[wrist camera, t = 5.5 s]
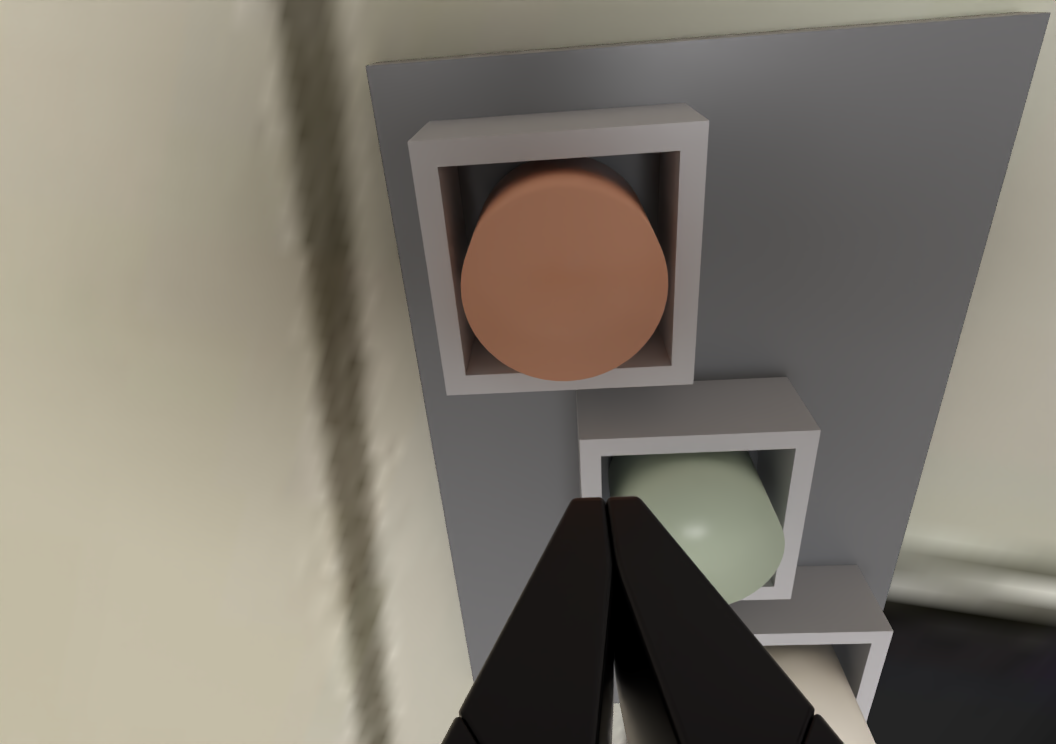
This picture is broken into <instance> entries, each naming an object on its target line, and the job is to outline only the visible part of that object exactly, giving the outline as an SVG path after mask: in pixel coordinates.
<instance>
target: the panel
mask: <svg viewBox="0 0 1056 744" xmlns="http://www.w3.org/2000/svg"><path fill="white" fill-rule="evenodd" d="M1049 17H1050V13H1046V12H1015V13H1002V14H989V15H977V16H964V17H951V18H938V19H925V20H913V21H900V22H887V23H874V24H861V25H848V26H836V27H823V28H810V29H797V30H784V31H772V32H759V33H746V34H733V35H720V36H707V37H695V38H682V39H669V40H656V41H643V42H631V43H618V44H605V45H592V46H579V47H567V48H554V49H541V50H528V51H515V52H502V53H490V54H477V55H464V56H451V57H438V58H426V59H413V60H400V61H387V62H376V63H373V64H370V65H367V66H366V71H367V77H368V83H369V88H370V94H371V100H372V105H373V111H374V117H375V123H376V128H377V134H378V140H379V145H380V151H381V157H382V162H383V168H384V174H385V180H386V185H387V191H388V197H389V202H390V208H391V214H392V220H393V225H394V231H395V237H396V242H397V248H398V254H399V259H400V265H401V271H402V277H403V282H404V288H405V294H406V299H407V305H408V311H409V316H410V322H411V328H412V334H413V339H414V345H415V351H416V356H417V362H418V368H419V373H420V379H421V385H422V391H423V396H424V402H425V408H426V413H427V419H428V425H429V430H430V436H431V442H432V448H433V453H434V459H435V465H436V470H437V476H438V482H439V487H440V493H441V499H442V505H443V510H444V516H445V522H446V527H447V533H448V539H449V544H450V550H451V556H452V562H453V567H454V573H455V579H456V584H457V590H458V596H459V601H460V607H461V613H462V619H463V624H464V630H465V636H466V641H467V647H468V653H469V658H470V664H471V670H472V676H473V681H474V682H475V680H476V678H477V676H478V674H479V672H480V671H481V669H482V667H483V665H484V663H485V661H486V659H487V657H488V656H489V654H490V652H491V650H492V648H493V646H494V644H495V642H496V640H497V639H498V637H499V635H500V633H501V631H502V629H503V627H504V625H505V623H506V622H507V620H508V618H509V616H510V614H511V612H512V610H513V608H514V606H515V605H516V603H517V601H518V599H519V597H520V595H521V593H522V591H523V590H524V588H525V586H526V584H527V582H528V580H529V578H530V576H531V574H532V573H533V571H534V569H535V567H536V565H537V563H538V561H539V559H540V557H541V556H542V554H543V552H544V550H545V548H546V546H547V544H548V542H549V541H550V539H551V537H552V535H553V533H554V531H555V529H556V527H557V525H558V524H559V522H560V520H561V518H562V516H563V514H564V512H565V510H566V508H567V507H568V505H569V503H570V501H571V500H572V499H574V498H584V497H601V498H603V499H604V500H605V503H606V500H607V499H608V498H609V497H610V491H609V482H608V472H609V467H610V463H611V461H612V458H613V456H619V455H645V454H670V453H696V452H721V451H747V450H748V452H749V454H750V457H751V459H752V461H753V463H754V466H755V468H756V470H757V472H758V475H759V477H760V479H761V481H762V484H763V486H764V488H765V490H766V493H767V495H768V497H769V499H770V502H771V504H772V506H773V509H774V511H775V513H776V515H777V518H778V520H779V522H780V524H781V527H782V530H783V533H784V539H785V548H784V554H783V558H782V560H781V563H780V565H779V567H778V568H777V570H776V572H775V573H774V575H773V576H772V577H771V578H770V579H769V580H768V581H767V582H766V583H765V584H764V585H763V586H762V587H761V588H759V589H758V590H757V591H755V592H754V593H752V594H751V595H749V596H747V597H745V598H743V599H741V600H739V601H737V602H734V603H731V604H729V605H730V607H731V608H732V609H733V610H734V611H735V613H736V614H737V615H738V616H739V618H740V619H741V620H742V621H743V622H744V624H745V625H746V626H747V627H748V628H749V630H750V631H751V632H752V633H753V634H754V636H755V637H756V638H757V639H758V640H759V642H760V643H761V644H762V645H763V646H772V645H820V644H831V645H832V647H833V649H834V651H835V653H836V655H837V657H838V660H839V662H840V664H841V667H842V669H843V671H844V673H845V676H846V678H847V680H848V682H849V685H850V687H851V689H852V692H853V694H854V696H855V698H856V701H857V703H858V705H859V707H860V710H861V712H862V714H863V717H864V719H865V721H867V718H868V715H869V711H870V708H871V704H872V701H873V698H874V694H875V691H876V688H877V684H878V681H879V678H880V674H881V671H882V667H883V664H884V661H885V657H886V654H887V651H888V647H889V644H890V641H891V637H892V634H893V630H892V628H891V626H890V624H889V622H888V621H887V619H886V617H885V615H884V613H883V609H884V606H885V602H886V599H887V595H888V591H889V588H890V584H891V581H892V577H893V574H894V570H895V566H896V563H897V559H898V556H899V552H900V549H901V545H902V541H903V538H904V534H905V531H906V527H907V524H908V520H909V516H910V513H911V509H912V506H913V502H914V499H915V495H916V491H917V488H918V484H919V481H920V477H921V474H922V470H923V466H924V463H925V459H926V456H927V452H928V449H929V445H930V441H931V438H932V434H933V431H934V427H935V424H936V420H937V416H938V413H939V409H940V406H941V402H942V399H943V395H944V391H945V388H946V384H947V381H948V377H949V374H950V370H951V367H952V363H953V359H954V356H955V352H956V349H957V345H958V342H959V338H960V334H961V331H962V327H963V324H964V320H965V317H966V313H967V309H968V306H969V302H970V299H971V295H972V292H973V288H974V284H975V281H976V277H977V274H978V270H979V267H980V263H981V259H982V256H983V252H984V249H985V245H986V242H987V238H988V234H989V231H990V227H991V224H992V220H993V217H994V213H995V209H996V206H997V202H998V199H999V195H1000V192H1001V188H1002V184H1003V181H1004V177H1005V174H1006V170H1007V167H1008V163H1009V159H1010V156H1011V152H1012V149H1013V145H1014V142H1015V138H1016V134H1017V131H1018V127H1019V124H1020V120H1021V117H1022V113H1023V109H1024V106H1025V102H1026V99H1027V95H1028V92H1029V88H1030V84H1031V81H1032V77H1033V74H1034V70H1035V67H1036V63H1037V59H1038V56H1039V52H1040V49H1041V45H1042V42H1043V38H1044V35H1045V31H1046V27H1047V24H1048V20H1049ZM580 157H587V158H591V159H594V160H596V161H598V162H601V163H603V164H605V165H606V166H608V167H610V168H611V169H613V170H614V171H616V172H617V173H618V174H619V175H620V176H622V177H623V178H624V179H625V180H626V182H627V183H628V184H629V185H630V186H631V187H632V189H633V190H634V192H635V193H636V195H637V197H638V199H639V201H640V203H641V205H642V207H643V209H644V211H645V213H646V215H647V218H648V220H649V222H650V224H651V226H652V229H653V231H654V233H655V235H656V237H657V239H658V242H659V244H660V246H661V248H662V251H663V254H664V257H665V260H666V266H667V271H668V294H667V301H666V305H665V309H664V312H663V315H662V317H661V320H660V322H659V324H658V326H657V328H656V329H655V331H654V333H653V335H652V336H651V337H650V339H649V340H648V341H647V343H646V344H645V345H644V346H643V347H642V348H641V349H640V350H639V351H638V352H637V353H636V354H635V355H634V356H632V357H631V358H630V359H629V360H627V361H626V362H624V363H623V364H621V365H620V366H618V367H617V368H614V369H612V370H610V371H608V372H606V373H604V374H601V375H598V376H595V377H591V378H587V379H582V380H575V381H551V380H543V379H539V378H535V377H531V376H528V375H525V374H523V373H520V372H518V371H516V370H514V369H512V368H510V367H508V366H507V365H505V364H504V363H502V362H501V361H499V360H498V359H497V358H495V357H494V356H493V355H492V354H491V353H490V352H489V351H488V350H487V349H486V348H485V347H484V346H483V345H482V344H481V342H480V341H479V340H478V338H477V337H476V335H475V334H474V332H473V330H472V328H471V326H470V324H469V322H468V320H467V317H466V314H465V312H464V308H463V303H462V298H461V274H462V268H463V264H464V259H465V257H466V254H467V251H468V248H469V245H470V242H471V239H472V236H473V233H474V230H475V227H476V224H477V221H478V218H479V215H480V213H481V210H482V207H483V205H484V203H485V201H486V199H487V197H488V195H489V194H490V193H491V191H492V190H493V188H494V187H495V186H496V185H497V184H498V183H499V181H500V180H501V179H502V178H503V177H504V176H506V175H507V174H508V173H509V172H511V171H512V170H513V169H515V168H517V167H518V166H520V165H522V164H524V163H526V162H528V161H535V160H550V159H565V158H580ZM614 703H620V702H619V696H618V690H617V684H616V677H615V667H614Z"/></svg>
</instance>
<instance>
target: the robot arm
mask: <svg viewBox="0 0 1056 744" xmlns="http://www.w3.org/2000/svg"><path fill="white" fill-rule="evenodd" d="M614 667H615V677H616V684H617V690H618V696H619V702H620V707H621V712H622V717H623V722H624V727H625V732H626V737H627V743H628V744H844V743H843V741H842V740H841V739H840V738H839V737H838V735H837V734H836V733H835V732H834V730H833V729H832V728H831V727H830V726H829V724H828V723H827V722H826V721H825V719H824V718H823V717H822V716H821V715H819V714H815V715H814V712H815V709H814V707H813V705H812V704H811V703H810V702H809V701H808V699H807V698H806V697H805V696H804V695H803V693H802V692H801V691H800V690H799V689H798V687H797V686H796V685H795V684H794V683H793V681H792V680H791V679H790V678H789V677H788V675H787V674H786V673H785V672H784V671H783V669H782V668H781V667H780V666H779V665H778V663H777V662H776V661H775V660H774V658H773V657H772V656H771V655H770V654H769V652H768V651H767V650H766V649H765V648H764V646H763V645H762V644H761V643H760V642H759V640H758V639H757V638H756V637H755V636H754V634H753V633H752V632H751V631H750V630H749V628H748V627H747V626H746V625H745V624H744V622H743V621H742V620H741V619H740V618H739V616H738V615H737V614H736V613H735V611H734V610H733V609H732V608H731V607H730V605H729V604H728V603H727V602H726V601H725V599H724V598H723V597H722V596H721V595H720V593H719V592H718V591H717V590H716V589H715V587H714V586H713V585H712V584H711V583H710V581H709V580H708V579H707V578H706V577H705V575H704V574H703V573H702V572H701V571H700V569H699V568H698V567H697V566H696V565H695V563H694V562H693V561H692V560H691V558H690V557H689V556H688V555H687V554H686V552H685V551H684V550H683V549H682V548H681V546H680V545H679V544H678V543H677V542H676V540H675V539H674V538H673V537H672V536H671V534H670V533H669V532H668V531H667V530H666V528H665V527H664V526H663V525H662V524H661V522H660V521H659V520H658V519H657V518H656V516H655V515H654V514H653V513H652V511H651V510H650V509H649V508H648V507H647V505H646V504H645V503H644V502H643V501H642V500H641V499H640V498H639V497H637V496H618V497H609V498H608V499H607V500H606V503H605V500H604V499H603V498H601V497H584V498H574V499H572V500H571V501H570V503H569V505H568V507H567V508H566V510H565V512H564V514H563V516H562V518H561V520H560V522H559V524H558V525H557V527H556V529H555V531H554V533H553V535H552V537H551V539H550V541H549V542H548V544H547V546H546V548H545V550H544V552H543V554H542V556H541V557H540V559H539V561H538V563H537V565H536V567H535V569H534V571H533V573H532V574H531V576H530V578H529V580H528V582H527V584H526V586H525V588H524V590H523V591H522V593H521V595H520V597H519V599H518V601H517V603H516V605H515V606H514V608H513V610H512V612H511V614H510V616H509V618H508V620H507V622H506V623H505V625H504V627H503V629H502V631H501V633H500V635H499V637H498V639H497V640H496V642H495V644H494V646H493V648H492V650H491V652H490V654H489V656H488V657H487V659H486V661H485V663H484V665H483V667H482V669H481V671H480V672H479V674H478V676H477V678H476V680H475V682H474V684H473V686H472V688H471V689H470V691H469V693H468V695H467V697H466V699H465V701H464V703H463V705H462V706H461V708H460V710H459V717H456V718H455V719H454V721H453V723H452V725H451V726H450V728H449V730H448V732H447V734H446V736H445V738H444V740H443V741H442V743H441V744H612V724H613V703H614Z"/></svg>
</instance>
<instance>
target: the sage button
mask: <svg viewBox="0 0 1056 744" xmlns="http://www.w3.org/2000/svg"><path fill="white" fill-rule="evenodd" d="M608 482H609V491H610V497H618V496H637V497H639V498H640V499H641V500H642V501H643V502H644V503H645V504H646V505H647V507H648V508H649V509H650V510H651V511H652V513H653V514H654V515H655V516H656V518H657V519H658V520H659V521H660V522H661V524H662V525H663V526H664V527H665V528H666V530H667V531H668V532H669V533H670V534H671V536H672V537H673V538H674V539H675V540H676V542H677V543H678V544H679V545H680V546H681V548H682V549H683V550H684V551H685V552H686V554H687V555H688V556H689V557H690V558H691V560H692V561H693V562H694V563H695V565H696V566H697V567H698V568H699V569H700V571H701V572H702V573H703V574H704V575H705V577H706V578H707V579H708V580H709V581H710V583H711V584H712V585H713V586H714V587H715V589H716V590H717V591H718V592H719V593H720V595H721V596H722V597H723V598H724V599H725V601H726V602H727V603H728V604H731V603H734V602H737V601H739V600H741V599H743V598H745V597H747V596H749V595H751V594H752V593H754V592H755V591H757V590H758V589H759V588H761V587H762V586H763V585H764V584H765V583H766V582H767V581H768V580H769V579H770V578H771V577H772V576H773V575H774V573H775V572H776V570H777V568H778V567H779V565H780V563H781V560H782V558H783V554H784V548H785V539H784V533H783V530H782V527H781V524H780V522H779V520H778V518H777V515H776V513H775V511H774V509H773V506H772V504H771V502H770V499H769V497H768V495H767V493H766V490H765V488H764V486H763V484H762V481H761V479H760V477H759V475H758V472H757V470H756V468H755V466H754V463H753V461H752V459H751V457H750V454H749V452H748V450H747V451H721V452H696V453H670V454H645V455H619V456H613V458H612V461H611V463H610V467H609V472H608Z"/></svg>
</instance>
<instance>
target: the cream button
mask: <svg viewBox="0 0 1056 744" xmlns="http://www.w3.org/2000/svg"><path fill="white" fill-rule="evenodd" d="M764 648H765V649H766V650H767V651H768V652H769V654H770V655H771V656H772V657H773V658H774V660H775V661H776V662H777V663H778V665H779V666H780V667H781V668H782V669H783V671H784V672H785V673H786V674H787V675H788V677H789V678H790V679H791V680H792V681H793V683H794V684H795V685H796V686H797V687H798V689H799V690H800V691H801V692H802V693H803V695H804V696H805V697H806V698H807V699H808V701H809V702H810V703H811V704H812V705H813V707H814V709H815V712H814V715H815V714H819V715H821V716H822V717H823V718H824V719H825V721H826V722H827V723H828V724H829V726H830V727H831V728H832V729H833V730H834V732H835V733H836V734H837V735H838V737H839V738H840V739H841V740H842V741H843V743H844V744H875V742H874V739H873V737H872V735H871V732H870V730H869V728H868V726H867V723H866V721H865V719H864V717H863V714H862V712H861V710H860V707H859V705H858V703H857V701H856V698H855V696H854V694H853V692H852V689H851V687H850V685H849V682H848V680H847V678H846V676H845V673H844V671H843V669H842V667H841V664H840V662H839V660H838V657H837V655H836V653H835V651H834V649H833V647H832V645H831V644H820V645H772V646H764Z"/></svg>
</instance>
